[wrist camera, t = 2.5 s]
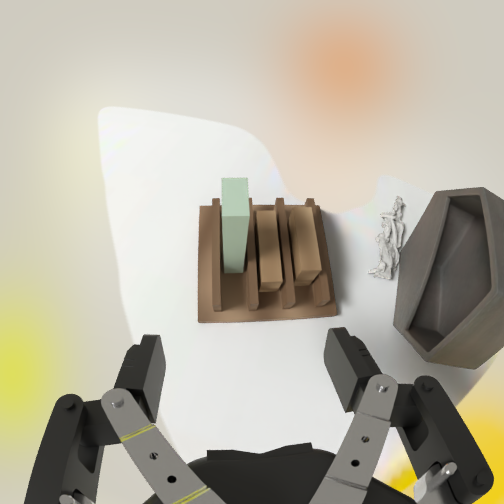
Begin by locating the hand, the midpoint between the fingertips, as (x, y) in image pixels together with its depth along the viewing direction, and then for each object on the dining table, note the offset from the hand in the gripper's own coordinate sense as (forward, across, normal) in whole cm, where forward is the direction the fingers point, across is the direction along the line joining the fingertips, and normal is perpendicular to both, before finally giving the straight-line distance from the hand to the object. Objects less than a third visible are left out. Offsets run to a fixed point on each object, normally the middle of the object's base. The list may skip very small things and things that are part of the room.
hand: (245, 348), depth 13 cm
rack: (+20, -4, +4) cm, 21 cm away
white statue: (+23, -21, +2) cm, 31 cm away
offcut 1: (+20, -4, +3) cm, 20 cm away
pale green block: (+20, 0, +3) cm, 20 cm away
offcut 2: (+20, -7, +3) cm, 21 cm away
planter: (+16, -24, +9) cm, 30 cm away
